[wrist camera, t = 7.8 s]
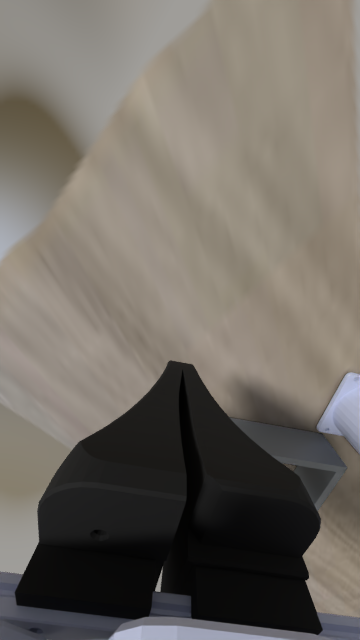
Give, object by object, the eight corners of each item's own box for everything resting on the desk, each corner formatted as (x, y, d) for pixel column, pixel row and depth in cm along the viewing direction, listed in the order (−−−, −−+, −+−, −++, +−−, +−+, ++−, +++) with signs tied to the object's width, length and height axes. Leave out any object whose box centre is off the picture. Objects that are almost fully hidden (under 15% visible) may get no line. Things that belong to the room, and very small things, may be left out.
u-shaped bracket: (322, 433, 24) (347, 467, 21) (271, 521, 30) (283, 560, 26) (223, 416, 24) (230, 448, 20) (190, 509, 30) (191, 547, 26)
